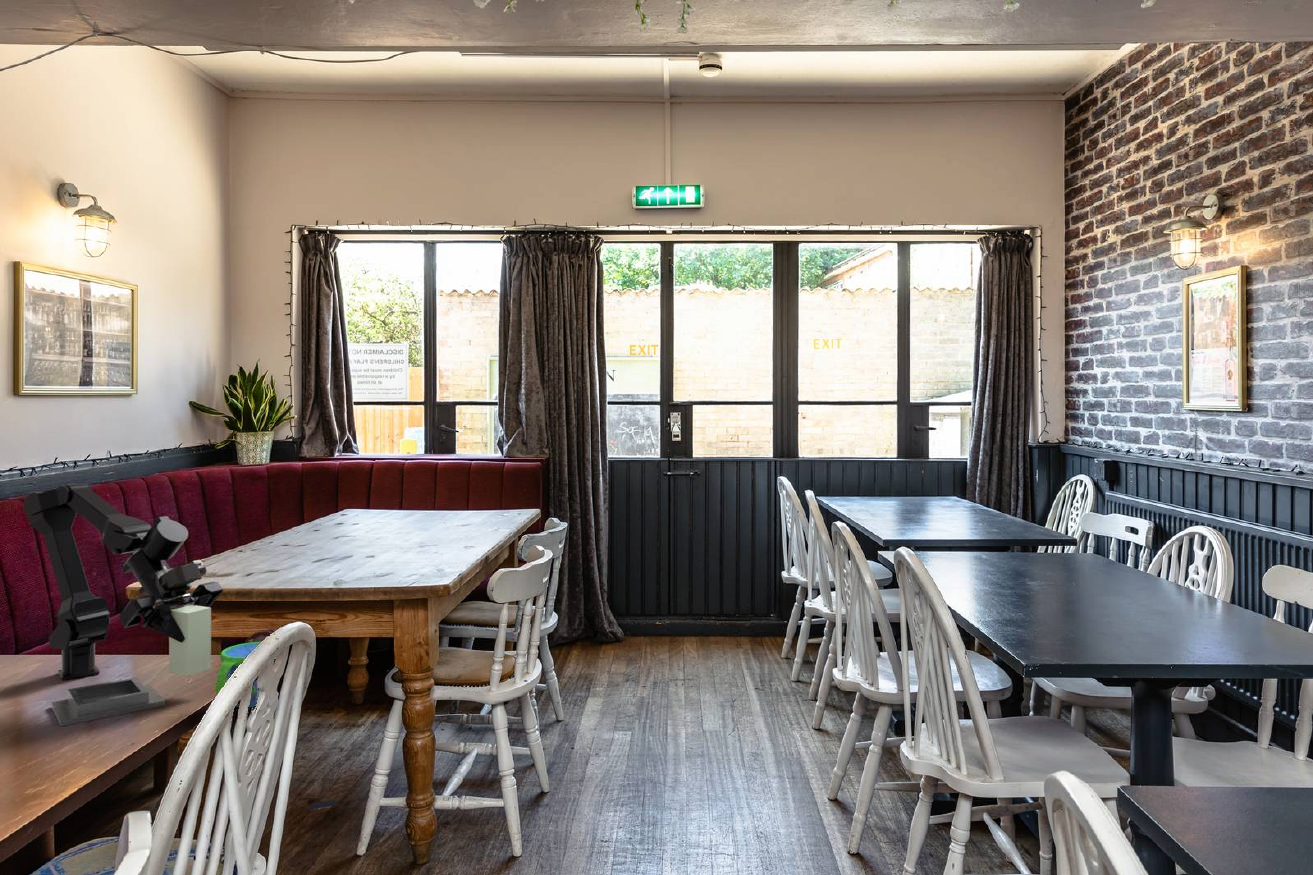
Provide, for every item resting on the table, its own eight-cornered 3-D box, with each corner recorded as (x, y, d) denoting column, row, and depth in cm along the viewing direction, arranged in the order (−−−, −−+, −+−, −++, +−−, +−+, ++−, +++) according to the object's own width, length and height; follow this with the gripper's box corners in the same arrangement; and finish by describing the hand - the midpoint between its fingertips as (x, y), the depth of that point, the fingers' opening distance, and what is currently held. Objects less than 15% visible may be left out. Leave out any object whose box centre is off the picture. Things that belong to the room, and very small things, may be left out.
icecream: (278, 640, 181) (290, 628, 196) (242, 633, 179) (257, 621, 194) (269, 672, 180) (282, 658, 195) (232, 665, 179) (248, 652, 193)
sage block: (169, 672, 163) (169, 610, 162) (192, 665, 167) (192, 604, 167) (188, 676, 161) (188, 613, 160) (210, 668, 165) (211, 607, 165)
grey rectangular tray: (51, 707, 157) (50, 691, 157) (150, 689, 168) (150, 674, 167) (60, 726, 148) (60, 709, 148) (164, 705, 159) (164, 689, 159)
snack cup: (238, 720, 152) (238, 663, 152) (195, 711, 156) (195, 656, 156) (304, 693, 167) (304, 642, 166) (264, 686, 171) (264, 635, 170)
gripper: (129, 556, 156) (172, 622, 152) (216, 541, 173) (257, 601, 170) (100, 594, 159) (142, 660, 156) (188, 576, 177) (228, 635, 173)
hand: (195, 637), depth 163 cm, fingers closed on sage block, 5 cm apart
